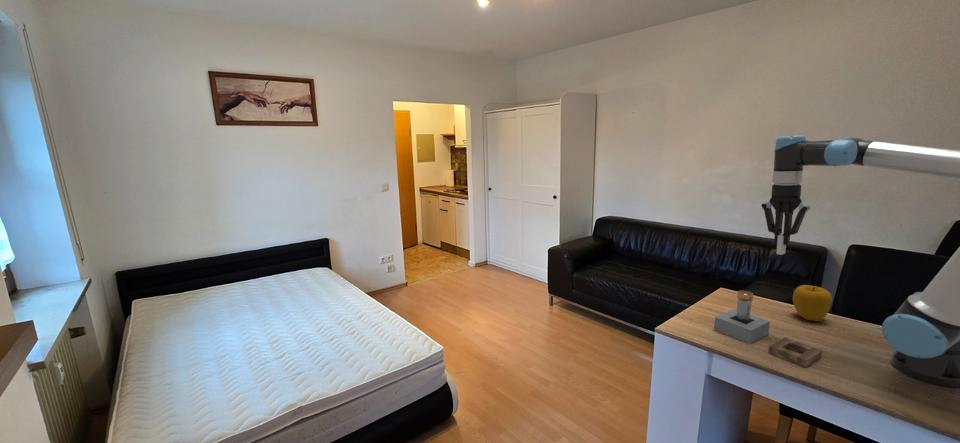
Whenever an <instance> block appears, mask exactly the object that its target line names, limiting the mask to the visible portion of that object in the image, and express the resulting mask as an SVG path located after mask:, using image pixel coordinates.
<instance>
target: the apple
mask: <svg viewBox="0 0 960 443" xmlns="http://www.w3.org/2000/svg"><path fill="white" fill-rule="evenodd" d="M792 293H793V294H792V303H793V306H794V308H795V310H796V312H797V314H798V315H799V316H800V317H801V318H803V319H804V320H807V321H811V322H821V321H823V320H824V318H825V317H826V316H827V315H828V312H829V310H830V308H831V304H832V302H833V296H832V293H831V292H830V291H828V290H827V289H825V288H822V287H820V286H816V285H809V284H802V285H798V286H797V287H796V288H795V289H794V290H793V292H792Z"/></svg>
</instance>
